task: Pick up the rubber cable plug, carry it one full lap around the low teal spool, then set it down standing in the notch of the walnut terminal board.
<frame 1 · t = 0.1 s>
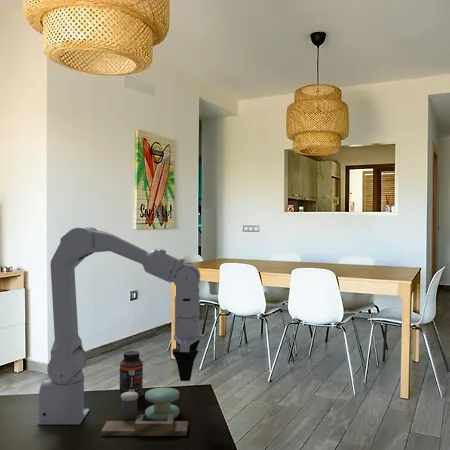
hand: (186, 375, 109), 10 cm above the table, tool pointing down, fingers open, 7 cm apart
board: (145, 430, 102), on the table
supplement bottle: (131, 396, 122), on the table
spool: (162, 413, 111), on the table
plug: (129, 420, 107), on the table
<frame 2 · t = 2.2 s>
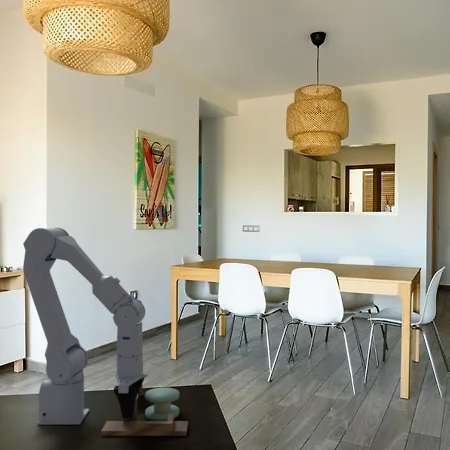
hand: (129, 413, 107), 2 cm above the table, tool pointing down, fingers closed on plug, 4 cm apart
plug: (129, 420, 107), on the table, touching gripper
everything else where it was.
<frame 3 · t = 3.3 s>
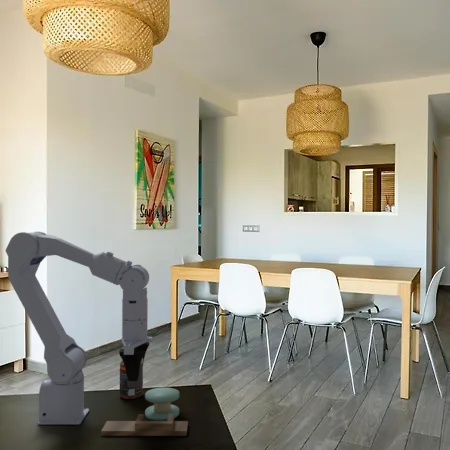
hand: (134, 377, 108), 9 cm above the table, tool pointing down, fingers closed on plug, 4 cm apart
plug: (135, 385, 108), point 8 cm above the table, touching gripper
everything else where it was.
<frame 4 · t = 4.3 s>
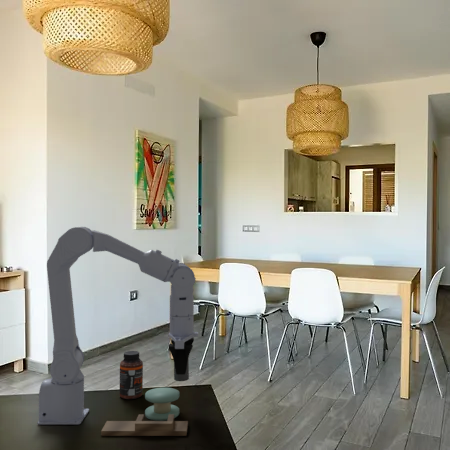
hand: (181, 371, 113), 10 cm above the table, tool pointing down, fingers closed on plug, 4 cm apart
plug: (181, 378, 113), point 8 cm above the table, touching gripper
everything else where it was.
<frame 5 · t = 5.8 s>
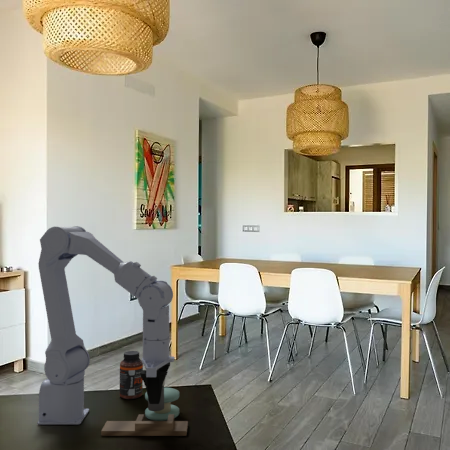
hand: (155, 399, 103), 6 cm above the table, tool pointing down, fingers closed on plug, 4 cm apart
plug: (156, 407, 103), point 5 cm above the table, touching gripper
everything else where it was.
when the fingers open (3 cm above the table, at t = 6.7 s): plug stays where it is, resting on board.
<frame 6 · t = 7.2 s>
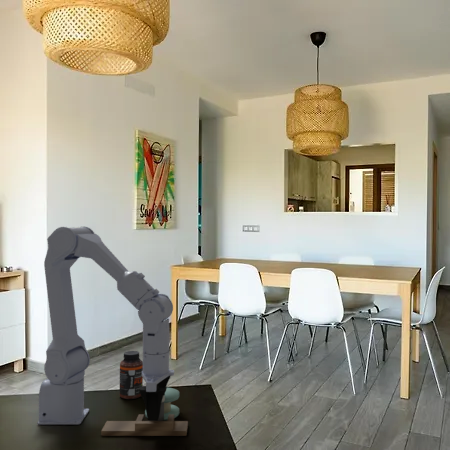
hand: (155, 413, 103), 3 cm above the table, tool pointing down, fingers open, 6 cm apart
plug: (155, 424, 103), point 1 cm above the table, touching board
everything else where it was.
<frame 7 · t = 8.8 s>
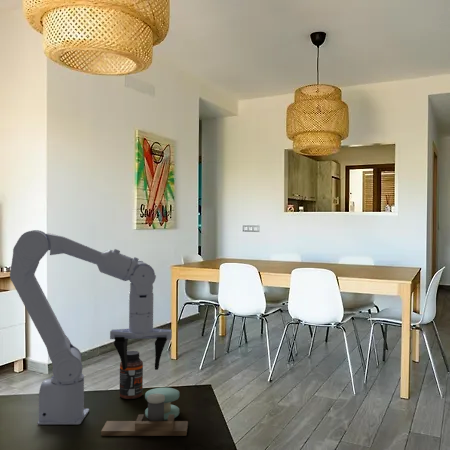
hand: (140, 368, 113), 10 cm above the table, tool pointing down, fingers open, 7 cm apart
nothing on the table moved.
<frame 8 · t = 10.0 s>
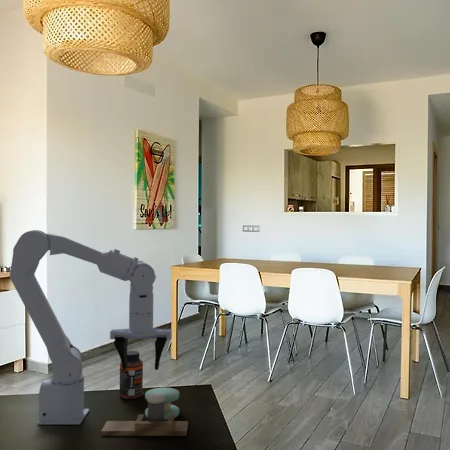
hand: (140, 368, 113), 10 cm above the table, tool pointing down, fingers open, 7 cm apart
nothing on the table moved.
at the end: plug 0.3 cm from the target spot, point 1.0 cm above the table; plug tilted 0°; the gripper is holding nothing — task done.
